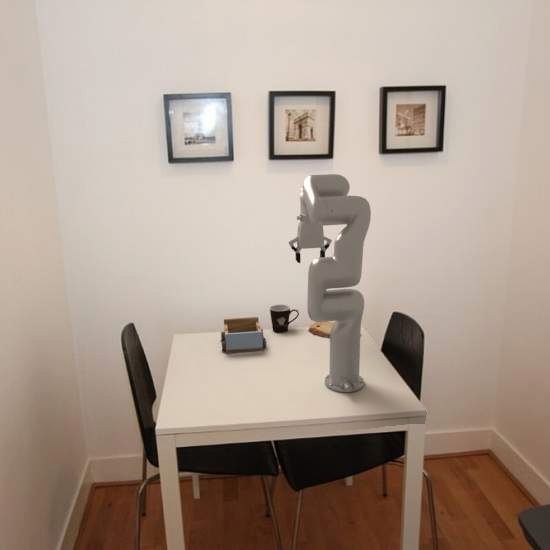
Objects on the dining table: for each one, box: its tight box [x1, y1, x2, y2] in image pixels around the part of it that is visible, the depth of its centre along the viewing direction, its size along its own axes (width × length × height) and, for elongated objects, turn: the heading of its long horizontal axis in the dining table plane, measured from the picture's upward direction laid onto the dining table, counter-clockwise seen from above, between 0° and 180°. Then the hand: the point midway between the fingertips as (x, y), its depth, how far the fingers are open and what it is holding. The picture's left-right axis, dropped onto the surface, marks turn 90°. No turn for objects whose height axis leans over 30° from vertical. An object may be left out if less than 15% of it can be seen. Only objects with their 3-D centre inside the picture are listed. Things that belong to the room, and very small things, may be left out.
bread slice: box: [308, 321, 335, 339], centre depth 195 cm, size 18×18×4 cm
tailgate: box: [226, 331, 264, 350], centre depth 176 cm, size 1×14×6 cm, turn 98°
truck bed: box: [220, 316, 267, 354], centre depth 185 cm, size 16×17×8 cm
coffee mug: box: [269, 304, 300, 334], centre depth 198 cm, size 12×9×10 cm
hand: (310, 261), depth 187 cm, fingers open, 9 cm apart
